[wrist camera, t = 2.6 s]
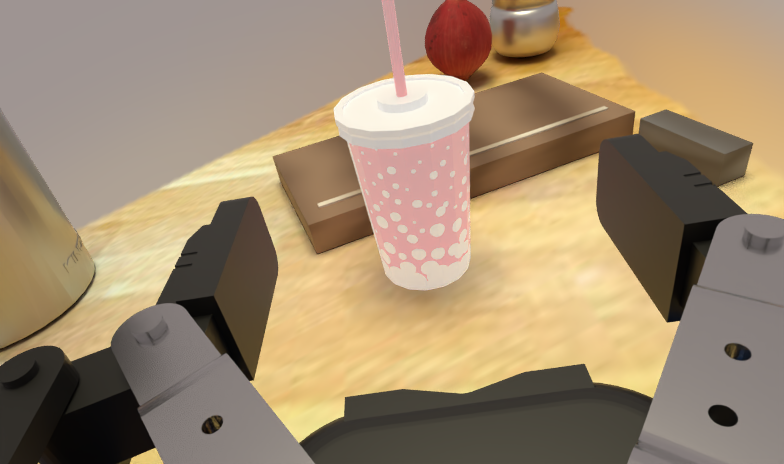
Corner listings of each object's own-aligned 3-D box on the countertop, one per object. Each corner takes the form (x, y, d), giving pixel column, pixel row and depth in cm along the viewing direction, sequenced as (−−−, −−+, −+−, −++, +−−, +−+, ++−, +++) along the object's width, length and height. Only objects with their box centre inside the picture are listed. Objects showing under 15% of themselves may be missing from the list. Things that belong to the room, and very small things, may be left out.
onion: (426, 95, 47) (415, 0, 42) (433, 72, 51) (423, -16, 47) (493, 90, 45) (488, -9, 41) (494, 67, 50) (490, -24, 45)
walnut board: (356, 332, 24) (347, 299, 23) (280, 181, 38) (272, 155, 36) (744, 175, 30) (753, 141, 28) (557, 91, 43) (557, 66, 42)
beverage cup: (507, 275, 26) (495, -37, 18) (391, 317, 25) (323, 4, 17) (455, 215, 31) (427, -50, 23) (356, 248, 30) (291, -19, 22)
